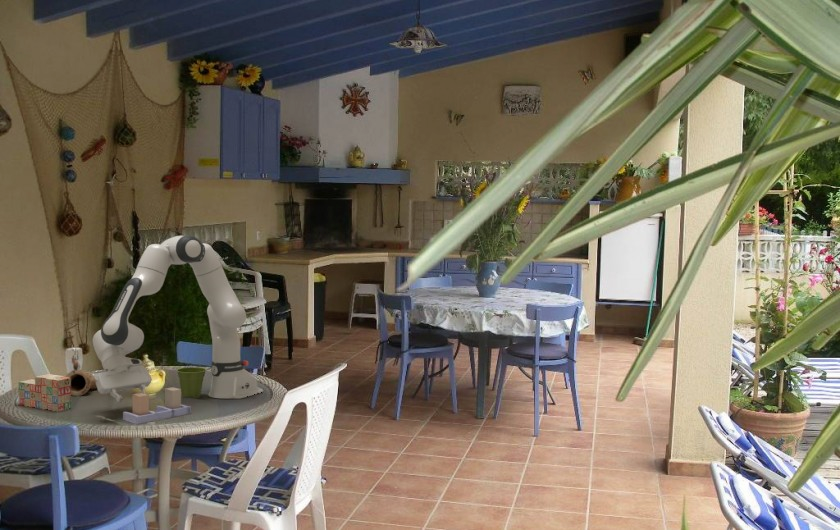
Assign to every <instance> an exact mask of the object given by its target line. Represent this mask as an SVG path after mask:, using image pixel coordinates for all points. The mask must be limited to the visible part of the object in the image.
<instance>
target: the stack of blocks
mask: <svg viewBox="0 0 840 530" xmlns="http://www.w3.org/2000/svg"><path fill="white" fill-rule="evenodd" d="M18 395H19V397H18V399H19V401H18V402H19V403H18V404H19V406H22V405H24V406H23V407H27V406H29V407H28V408H32V407H35V408H34V409H38V408H43V409H42V410H44V409H48V410H47V411H49V410H52V411H51V412H55V411H57V412H56V413H59V412H58V411H60V412H63V411H62V410H64V411H66V410H65V409H68V410H70V409H69V408H71V409H72V401H71V400H72V398H71V397H72V395H71V378H70V377H66V376H65V375H58V374H57V375H56V374H51V373H46V374H42V375H37V376H34V379H32V378H31V379H26V380H22V381H18Z"/></svg>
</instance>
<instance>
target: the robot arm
mask: <svg viewBox="0 0 840 530" xmlns="http://www.w3.org/2000/svg"><path fill="white" fill-rule="evenodd" d="M185 264H189V265H190V267H191V268H192V270H193V273H194V276H195V278H196V280H197V284H198V286H199V288H200V290H201V293H202V294H203V297H204V298H206V301H207V302H208V307H207V309H206V315H207V316H208V322H209V328H210V334H211V335H210V336H211V340H212V341H211V342H212V344H211V345H212V360H211V366H210V367H211V368H210V369H211V374H212V375H211V382H210V389H209V392H208V396H209V397H210V398H215V399H236V400H237V399H238V400H239V399H243V398H248V397H251V396H255V395H258V394H257V393H259V394H262V393H264V390H263V388H261V387H259V386H258V380H257V378H256V376H254V375H253V374H252V373H251V372H249V371H248V370H246V369H245V367H248V366H249V365H250V364H249V361H248V360H242V359H241V339H240V338H239V333H238V329H239V328H241V327H242V326H243V325H244V324H245V322H246V320H247V312H246V310H245V309H244V307H243V306H242V304H241V302H240V299H239V298H238V296H237V294H236V293H235V291H234V290H233V288H232V286H231V285H230V283H229V280H228V277H227V276H226V275H227V274H226V273H225V270H224V269H223V265H222V263H221V260H220V259H219V256H218V255H217V254H216V252H215V250H214V249H213V247H212V246H211V245H210V244H208V243H202V241H201V240H200V239H199V238H198V237H196V236H193V235H176V236H173V237H167V238H165V239H163V240H161V242H159V243H153V244H150V245H148V246H146V248H145V249H144V251H143V253H142V254H141V257H140V259H139V261H138V263H137V266H136V268H135V272H134V274H133V276H132V277H131V279H128V281H127V282H126V283H125V285H124V286H123V288H122V291H121V293H120V295H119V297H118V298H117V300H116V302H115V304H114V307H113V309H112V311H111V312H110V314H109V316H107V318H106V319H105V321H104V322H103V323H102V325H101V328H100V330H98V331H97V332H95V334H93V337H92V345H93V349H94V351H95V354H96V356H97V358H98V359H99V361H100V362H101V366H102V368H103V369H101V370H95V371H94V372H93V373H92V374H93V378H94V380H95V381H96V386H97V388H96V389H97V392H98V393H99V394H100V395H106V394H107V395H108V394H110V396H111V397H113V398H115V400H116V401H117V402H118V403H119V402H122V401H123V399H124V398H123V396H122V394H118V393H119V392H124V391H129V390H136V389H139V391H140V392H139V393H144V394H147V393H146V388H147V387H149V386H150V385H151V384H152V377H151V375H150V373H149V370H148V369H147V368H146V367H145V366H144V365H142V364H143V361H142V360H141V359H139V358H133V357H132V358H131V357H129V356H127V355H129V354H131V353H133V352H135V351H137V350H138V349H140V348H141V347H142V345H143V344H144V341H145V333H144V331H143V330H142V329H141V328H140V327H138V326H136V325H135V324H132V323H130V322H129V317H130V315H131V312H132V310H133V309H134V306H135V305H136V302H137V301H138V300H139V299H140V298H141V297H143V296H151V295H154V294H156V293H158V292H159V291H161V289H162V287H163V285H164V282H165V279H166V277H167V274H168V269H169V268H170V266H171V265H178V266H179V265H185ZM126 356H127V357H126ZM261 392H262V393H261ZM254 394H255V395H254ZM247 396H248V397H247Z"/></svg>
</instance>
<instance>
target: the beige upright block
mask: <svg viewBox="0 0 840 530" xmlns="http://www.w3.org/2000/svg"><path fill="white" fill-rule="evenodd" d="M181 404H182V394H181V388H177V387H174V386H173V387H167V388H164V407H166V408H169V409H178V408H181Z"/></svg>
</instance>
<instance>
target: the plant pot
mask: <svg viewBox="0 0 840 530" xmlns="http://www.w3.org/2000/svg"><path fill="white" fill-rule="evenodd" d="M175 371H176V372H177V376H178V379H179V386H180V388H179V389H181V398H185V397H187V398H194V399H198V398H200V397H201V394H202V389H203V384H204V383H203V382H204V378H205V375H206V371H207V368H205V367H199V366H197V367H196V366H195V367H194V366H187V367H186V366H185V367H181V368H180V367H179V368H177V369H176V370H175Z"/></svg>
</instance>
